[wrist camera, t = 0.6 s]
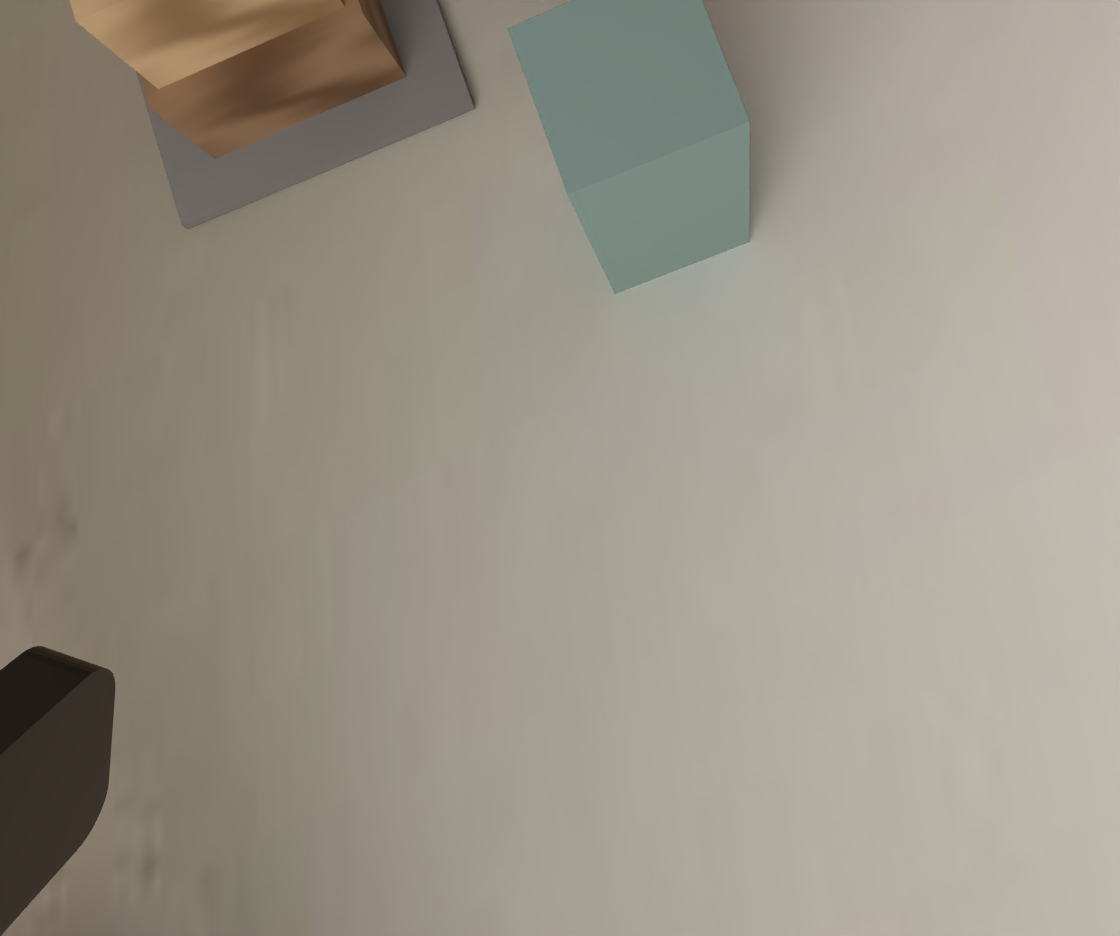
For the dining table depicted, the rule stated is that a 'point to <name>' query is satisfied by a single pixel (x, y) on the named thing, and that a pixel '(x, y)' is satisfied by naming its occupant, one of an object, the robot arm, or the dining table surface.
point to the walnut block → (282, 80)
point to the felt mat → (325, 125)
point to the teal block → (642, 130)
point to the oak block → (190, 30)
